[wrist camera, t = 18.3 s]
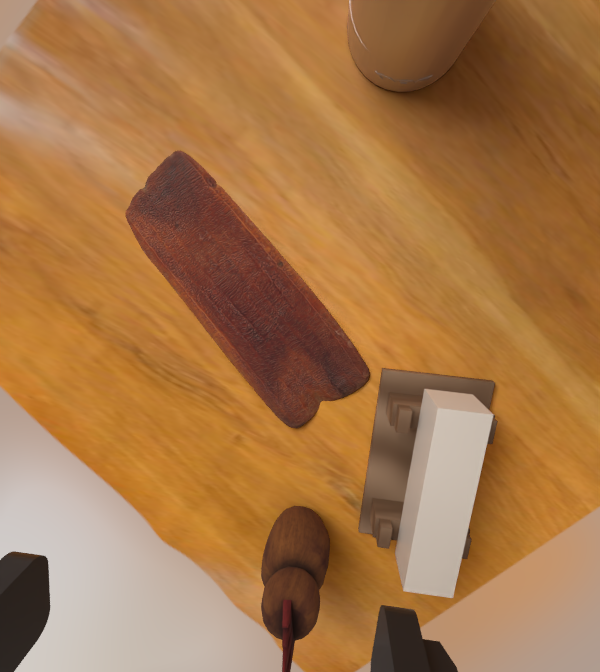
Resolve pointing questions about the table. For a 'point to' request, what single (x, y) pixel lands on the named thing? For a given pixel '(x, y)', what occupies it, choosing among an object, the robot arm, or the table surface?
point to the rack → (403, 445)
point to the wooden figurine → (294, 576)
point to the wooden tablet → (243, 292)
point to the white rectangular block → (441, 491)
